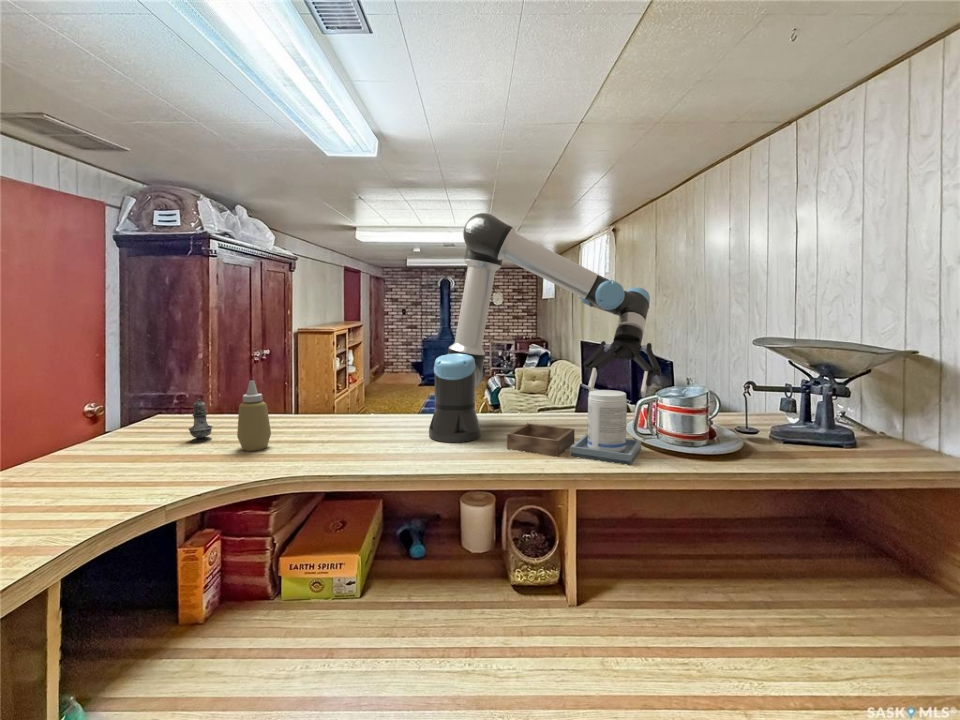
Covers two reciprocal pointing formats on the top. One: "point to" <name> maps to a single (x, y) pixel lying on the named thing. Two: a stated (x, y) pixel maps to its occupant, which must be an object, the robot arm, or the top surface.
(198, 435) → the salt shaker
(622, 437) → the supplement tub
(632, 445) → the tray
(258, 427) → the squeeze bottle
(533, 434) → the tray
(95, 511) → the top surface
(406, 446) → the top surface
